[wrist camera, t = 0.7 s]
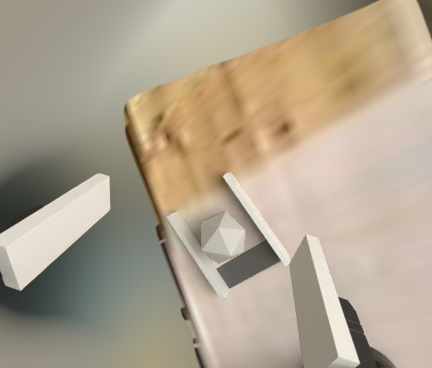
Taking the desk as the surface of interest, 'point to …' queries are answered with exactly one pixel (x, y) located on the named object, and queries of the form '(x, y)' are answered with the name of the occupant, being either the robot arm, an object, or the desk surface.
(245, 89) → the desk surface
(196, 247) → the grey u-shaped frame
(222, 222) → the die
